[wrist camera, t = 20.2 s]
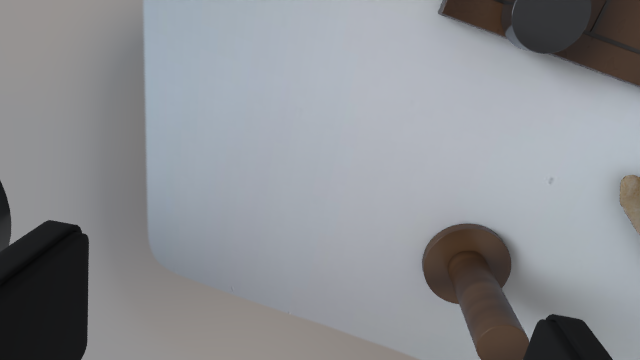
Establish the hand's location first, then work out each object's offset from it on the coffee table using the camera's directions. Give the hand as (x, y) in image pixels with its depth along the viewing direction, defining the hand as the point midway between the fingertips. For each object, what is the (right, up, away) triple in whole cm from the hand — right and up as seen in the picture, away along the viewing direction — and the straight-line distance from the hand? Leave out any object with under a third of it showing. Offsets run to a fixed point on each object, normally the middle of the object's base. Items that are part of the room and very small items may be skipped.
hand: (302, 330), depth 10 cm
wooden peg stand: (+12, -4, +30) cm, 33 cm away
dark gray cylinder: (+15, +14, +22) cm, 30 cm away
